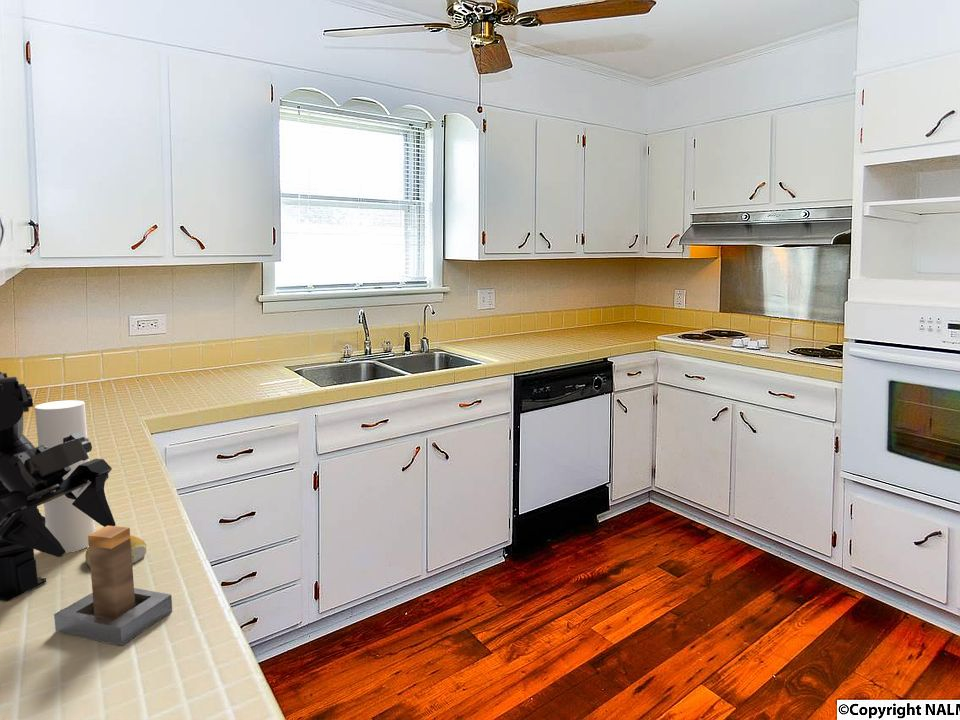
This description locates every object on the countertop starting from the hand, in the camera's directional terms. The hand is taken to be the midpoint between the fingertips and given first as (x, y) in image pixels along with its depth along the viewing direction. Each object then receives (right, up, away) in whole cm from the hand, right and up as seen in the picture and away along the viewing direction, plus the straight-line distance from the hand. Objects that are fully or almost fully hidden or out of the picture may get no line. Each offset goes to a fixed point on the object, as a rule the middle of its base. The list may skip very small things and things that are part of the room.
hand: (89, 540), depth 91 cm
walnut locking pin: (+3, -11, +1) cm, 12 cm away
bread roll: (-7, -9, +20) cm, 23 cm away
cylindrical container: (-18, -8, +25) cm, 31 cm away
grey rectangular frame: (+3, -11, +1) cm, 12 cm away
